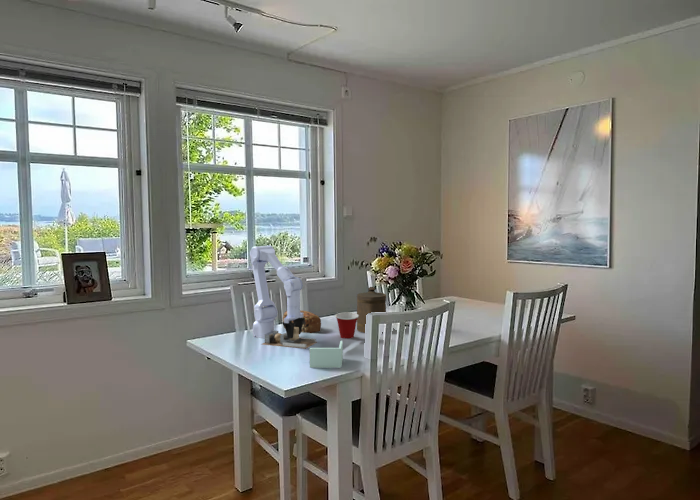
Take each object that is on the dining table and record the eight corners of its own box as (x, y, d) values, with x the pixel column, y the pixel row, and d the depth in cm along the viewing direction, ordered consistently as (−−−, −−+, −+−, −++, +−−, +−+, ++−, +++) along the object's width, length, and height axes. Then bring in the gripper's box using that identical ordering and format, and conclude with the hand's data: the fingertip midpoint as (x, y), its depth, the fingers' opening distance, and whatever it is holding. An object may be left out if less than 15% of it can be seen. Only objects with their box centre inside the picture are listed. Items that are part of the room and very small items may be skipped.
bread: (282, 329, 254) (282, 310, 253) (298, 325, 262) (298, 307, 261) (305, 335, 241) (305, 315, 240) (322, 331, 248) (321, 311, 248)
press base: (260, 347, 219) (260, 335, 218) (274, 341, 230) (274, 329, 229) (305, 352, 210) (305, 339, 210) (317, 345, 222) (317, 333, 221)
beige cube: (280, 344, 218) (280, 328, 217) (288, 340, 224) (287, 325, 224) (293, 345, 215) (293, 329, 215) (301, 341, 222) (300, 326, 221)
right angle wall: (342, 358, 201) (342, 340, 200) (341, 368, 189) (340, 348, 188) (313, 358, 201) (313, 340, 201) (309, 367, 189) (309, 348, 189)
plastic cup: (338, 343, 224) (338, 317, 223) (333, 338, 234) (332, 313, 233) (361, 342, 227) (361, 316, 226) (355, 336, 237) (354, 311, 236)
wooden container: (391, 328, 252) (391, 285, 251) (377, 334, 240) (377, 289, 238) (366, 325, 260) (365, 284, 259) (351, 331, 248) (350, 287, 246)
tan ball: (272, 342, 221) (272, 333, 220) (277, 340, 224) (277, 331, 224) (280, 343, 219) (280, 334, 219) (285, 341, 223) (284, 332, 223)
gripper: (294, 309, 210) (294, 340, 211) (309, 303, 223) (309, 333, 224) (279, 308, 212) (280, 339, 213) (295, 302, 226) (295, 331, 227)
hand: (294, 336), depth 219 cm, fingers open, 7 cm apart
